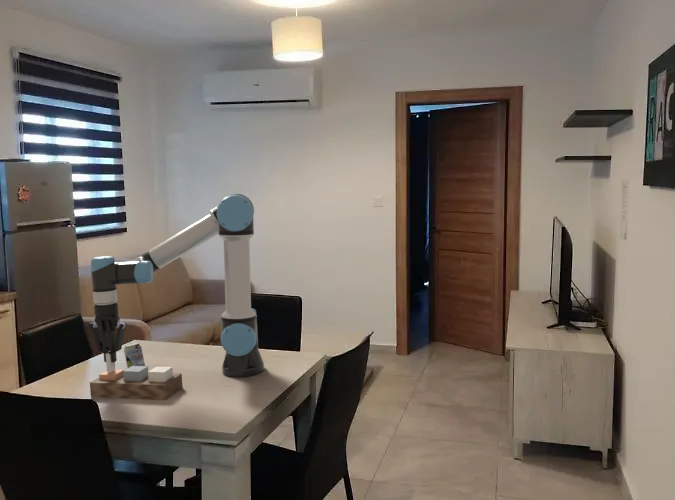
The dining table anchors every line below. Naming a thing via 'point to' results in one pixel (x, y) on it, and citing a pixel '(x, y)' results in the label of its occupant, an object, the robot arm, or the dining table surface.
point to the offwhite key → (160, 374)
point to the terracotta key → (111, 375)
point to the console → (136, 388)
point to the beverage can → (134, 355)
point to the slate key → (135, 373)
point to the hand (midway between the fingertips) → (111, 371)
